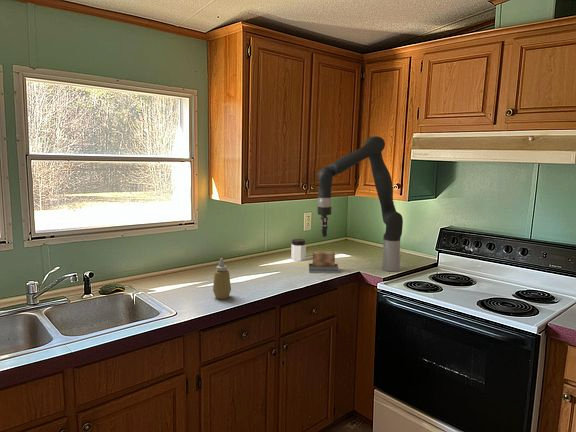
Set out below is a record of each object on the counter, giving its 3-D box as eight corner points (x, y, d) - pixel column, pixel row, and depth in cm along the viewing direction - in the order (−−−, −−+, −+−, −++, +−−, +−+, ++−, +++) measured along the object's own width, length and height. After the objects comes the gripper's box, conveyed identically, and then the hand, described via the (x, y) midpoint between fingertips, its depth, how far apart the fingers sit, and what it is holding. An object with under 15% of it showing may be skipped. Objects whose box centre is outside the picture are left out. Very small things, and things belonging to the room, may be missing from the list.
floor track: (337, 268, 240) (337, 263, 240) (338, 273, 231) (338, 267, 231) (308, 268, 241) (308, 262, 240) (309, 272, 232) (309, 267, 231)
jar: (289, 257, 264) (290, 238, 262) (302, 257, 267) (302, 238, 265) (294, 261, 256) (294, 241, 254) (307, 260, 258) (307, 241, 256)
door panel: (334, 268, 237) (334, 252, 236) (334, 269, 234) (334, 253, 233) (312, 267, 238) (312, 252, 236) (312, 269, 235) (312, 253, 233)
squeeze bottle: (232, 294, 196) (231, 256, 193) (230, 300, 188) (229, 260, 185) (214, 294, 196) (213, 256, 193) (211, 300, 188) (211, 260, 185)
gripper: (332, 207, 224) (332, 237, 226) (330, 204, 238) (330, 232, 240) (318, 207, 224) (317, 237, 226) (317, 204, 238) (316, 232, 240)
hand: (324, 235), depth 233 cm, fingers open, 8 cm apart
